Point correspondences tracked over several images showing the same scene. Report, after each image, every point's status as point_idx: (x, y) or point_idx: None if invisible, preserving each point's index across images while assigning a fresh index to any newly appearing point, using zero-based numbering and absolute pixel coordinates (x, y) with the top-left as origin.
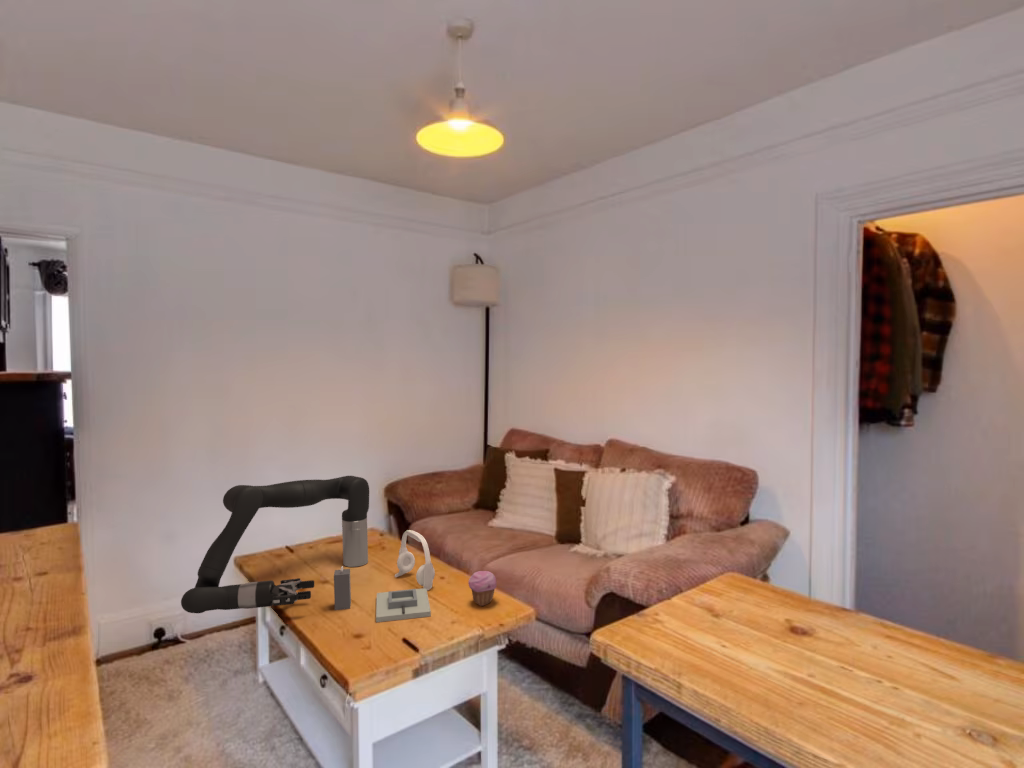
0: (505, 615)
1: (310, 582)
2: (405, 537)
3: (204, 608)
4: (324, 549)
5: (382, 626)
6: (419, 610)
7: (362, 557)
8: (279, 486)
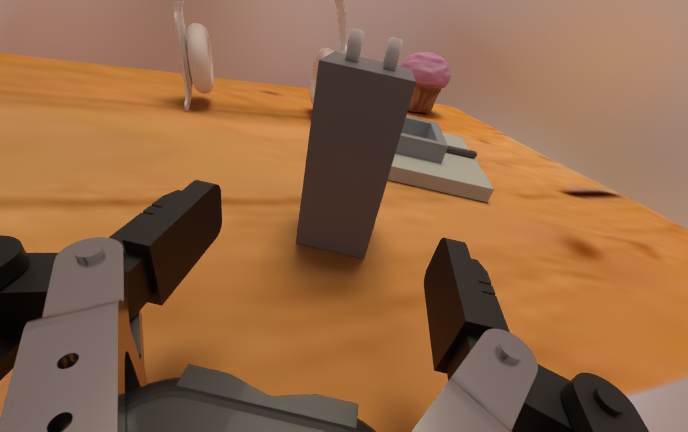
0: (462, 115)
1: (203, 205)
2: None
3: None
4: None
5: (510, 200)
6: (455, 142)
7: None
8: None
